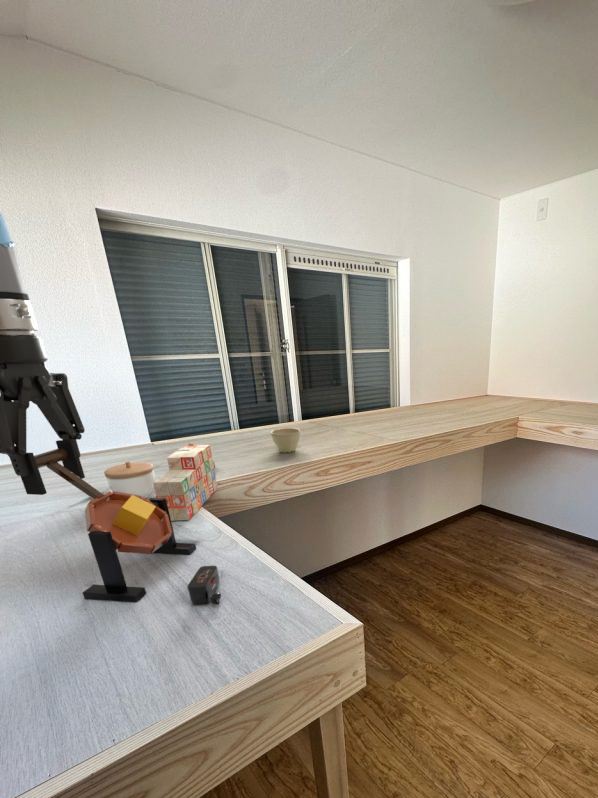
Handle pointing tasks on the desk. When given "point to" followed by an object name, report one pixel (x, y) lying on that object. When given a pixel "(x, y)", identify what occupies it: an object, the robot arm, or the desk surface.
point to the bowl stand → (112, 568)
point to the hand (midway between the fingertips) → (57, 485)
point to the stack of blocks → (187, 481)
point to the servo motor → (204, 586)
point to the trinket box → (131, 478)
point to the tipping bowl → (111, 510)
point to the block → (134, 515)
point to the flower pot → (286, 439)
